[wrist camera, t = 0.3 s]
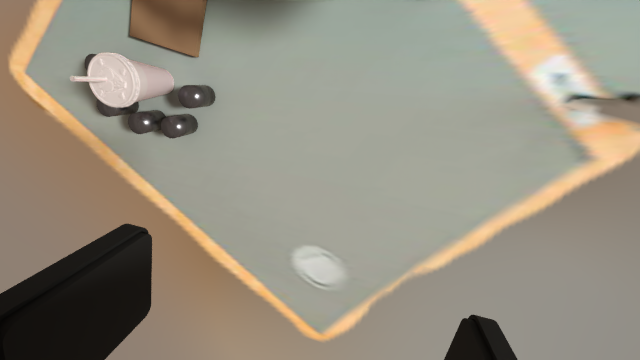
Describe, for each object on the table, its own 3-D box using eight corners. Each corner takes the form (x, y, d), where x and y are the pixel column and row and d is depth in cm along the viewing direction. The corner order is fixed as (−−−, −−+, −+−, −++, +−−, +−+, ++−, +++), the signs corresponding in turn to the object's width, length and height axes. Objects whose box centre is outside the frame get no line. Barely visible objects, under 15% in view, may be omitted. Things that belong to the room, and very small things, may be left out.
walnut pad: (140, -42, 40) (135, -46, 39) (209, -21, 40) (205, -24, 39) (134, 36, 43) (129, 35, 42) (198, 57, 43) (194, 56, 42)
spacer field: (111, 54, 45) (84, 51, 41) (216, 88, 44) (200, 89, 40) (108, 112, 48) (83, 115, 44) (207, 145, 47) (191, 152, 43)
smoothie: (144, 53, 44) (48, 40, 31) (184, 65, 44) (104, 56, 30) (142, 97, 46) (51, 102, 33) (180, 108, 46) (104, 117, 33)
